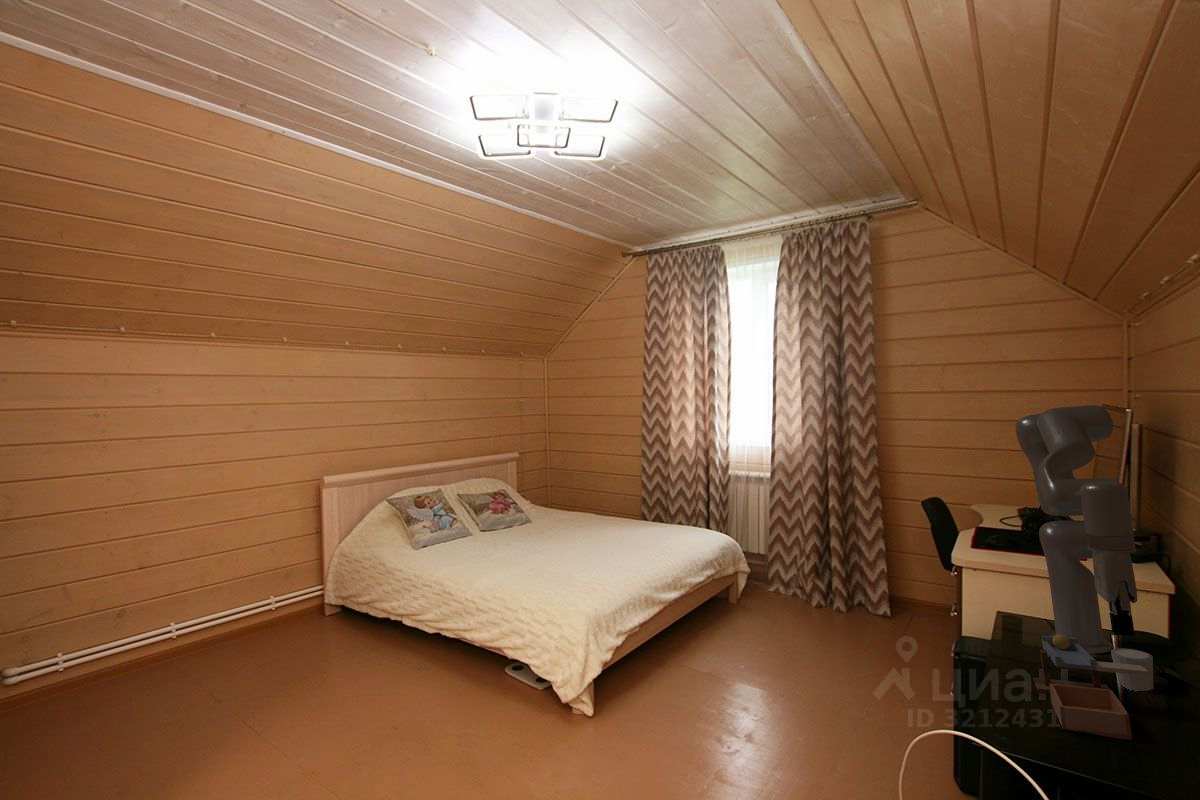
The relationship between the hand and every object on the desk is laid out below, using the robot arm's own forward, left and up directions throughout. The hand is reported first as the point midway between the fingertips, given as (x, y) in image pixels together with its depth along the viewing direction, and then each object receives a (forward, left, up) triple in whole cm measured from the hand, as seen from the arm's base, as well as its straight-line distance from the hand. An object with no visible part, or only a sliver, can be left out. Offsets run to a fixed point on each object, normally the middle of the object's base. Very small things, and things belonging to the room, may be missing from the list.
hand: (1123, 634), depth 120 cm
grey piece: (-6, -5, -9) cm, 12 cm away
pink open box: (+9, -9, -15) cm, 19 cm away
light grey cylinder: (-12, +3, -15) cm, 20 cm away
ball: (-13, -9, -7) cm, 17 cm away
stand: (-6, -9, -15) cm, 18 cm away
